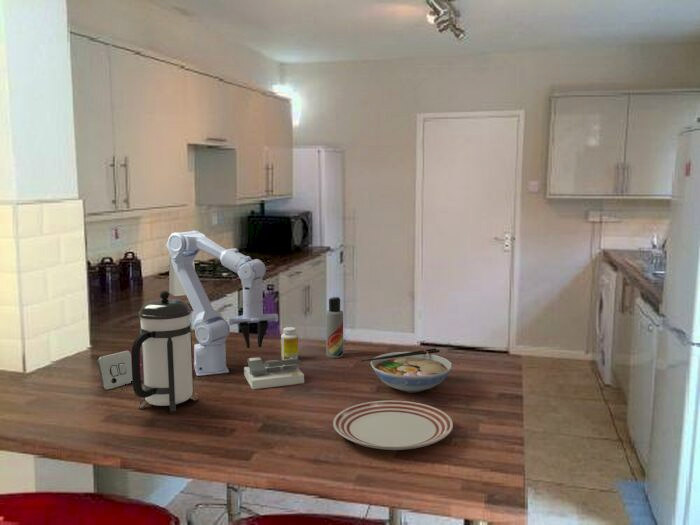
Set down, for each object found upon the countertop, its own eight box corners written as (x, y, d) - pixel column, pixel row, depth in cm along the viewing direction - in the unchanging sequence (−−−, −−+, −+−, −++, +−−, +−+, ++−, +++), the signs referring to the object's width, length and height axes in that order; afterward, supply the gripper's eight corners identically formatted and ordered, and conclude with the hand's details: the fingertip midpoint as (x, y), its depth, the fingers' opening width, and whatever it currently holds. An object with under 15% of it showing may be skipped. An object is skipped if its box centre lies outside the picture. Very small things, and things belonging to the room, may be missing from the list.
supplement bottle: (301, 359, 189) (301, 328, 188) (287, 362, 186) (286, 331, 185) (292, 355, 194) (291, 325, 192) (278, 358, 190) (277, 328, 189)
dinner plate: (308, 432, 133) (308, 419, 133) (387, 402, 152) (387, 390, 152) (398, 475, 114) (399, 459, 113) (476, 433, 133) (476, 420, 132)
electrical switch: (105, 391, 160) (102, 358, 159) (96, 388, 163) (93, 356, 163) (136, 382, 167) (133, 350, 167) (127, 380, 170) (124, 349, 170)
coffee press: (134, 398, 154) (128, 288, 150) (195, 391, 160) (191, 284, 156) (134, 423, 138) (128, 300, 134) (202, 413, 144) (198, 295, 140)
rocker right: (286, 365, 167) (285, 359, 167) (280, 364, 174) (280, 359, 174) (299, 364, 169) (298, 358, 169) (293, 363, 175) (293, 358, 175)
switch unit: (252, 389, 161) (252, 377, 161) (244, 375, 173) (244, 363, 173) (304, 383, 166) (304, 371, 166) (292, 369, 178) (292, 358, 178)
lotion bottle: (341, 358, 190) (341, 299, 187) (324, 357, 191) (324, 298, 188) (344, 354, 195) (344, 296, 193) (328, 353, 196) (328, 295, 194)
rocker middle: (269, 367, 165) (268, 361, 166) (264, 366, 172) (263, 361, 172) (282, 365, 167) (282, 360, 167) (277, 365, 173) (277, 359, 174)
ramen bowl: (388, 409, 147) (388, 378, 146) (354, 381, 168) (354, 354, 167) (471, 396, 156) (472, 366, 155) (429, 371, 177) (429, 345, 176)
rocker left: (251, 375, 164) (252, 370, 163) (247, 362, 170) (247, 357, 169) (265, 373, 165) (266, 369, 165) (260, 361, 171) (261, 356, 171)
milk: (196, 294, 304) (195, 245, 301) (174, 296, 298) (172, 246, 295) (190, 290, 314) (189, 243, 311) (169, 292, 308) (167, 244, 305)
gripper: (229, 305, 162) (231, 352, 164) (280, 302, 167) (281, 347, 169) (226, 301, 169) (227, 346, 170) (274, 297, 174) (275, 341, 175)
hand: (253, 346), depth 170 cm, fingers open, 3 cm apart
